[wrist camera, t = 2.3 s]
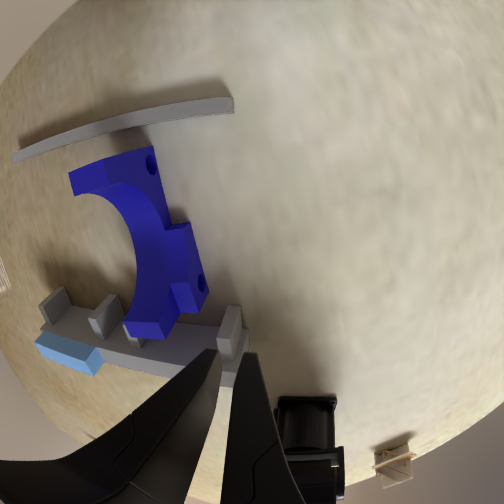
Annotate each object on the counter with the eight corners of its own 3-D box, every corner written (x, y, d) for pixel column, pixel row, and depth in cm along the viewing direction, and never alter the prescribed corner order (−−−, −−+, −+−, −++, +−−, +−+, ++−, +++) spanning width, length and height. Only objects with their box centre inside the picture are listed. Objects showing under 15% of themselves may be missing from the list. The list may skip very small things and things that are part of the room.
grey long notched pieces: (233, 98, 16) (195, 84, 9) (249, 345, 24) (234, 408, 18) (22, 150, 19) (-30, 168, 13) (70, 317, 28) (37, 353, 21)
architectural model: (369, 450, 33) (371, 487, 27) (406, 434, 30) (412, 473, 24) (378, 453, 34) (381, 489, 27) (414, 438, 31) (420, 475, 24)
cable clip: (209, 290, 22) (185, 340, 17) (162, 292, 23) (130, 337, 18) (172, 140, 17) (124, 151, 12) (121, 155, 18) (68, 172, 13)
